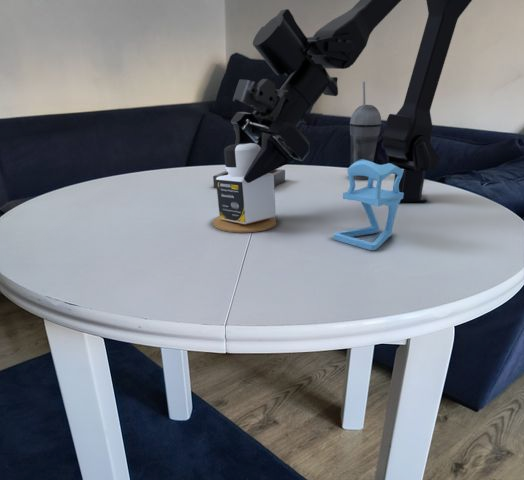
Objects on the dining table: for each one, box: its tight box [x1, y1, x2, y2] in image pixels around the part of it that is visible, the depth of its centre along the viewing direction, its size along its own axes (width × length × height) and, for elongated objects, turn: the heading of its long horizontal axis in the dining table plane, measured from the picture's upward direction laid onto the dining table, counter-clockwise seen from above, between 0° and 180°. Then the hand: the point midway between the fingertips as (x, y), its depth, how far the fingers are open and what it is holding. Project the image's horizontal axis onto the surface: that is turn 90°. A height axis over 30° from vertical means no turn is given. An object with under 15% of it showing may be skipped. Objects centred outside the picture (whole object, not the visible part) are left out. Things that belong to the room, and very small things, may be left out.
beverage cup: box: [348, 81, 383, 181], centre depth 110 cm, size 7×7×20 cm
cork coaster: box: [212, 215, 277, 234], centre depth 84 cm, size 11×11×1 cm
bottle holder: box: [212, 168, 286, 189], centre depth 109 cm, size 12×12×2 cm
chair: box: [333, 159, 404, 252], centre depth 73 cm, size 8×8×12 cm
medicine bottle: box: [216, 143, 277, 224], centre depth 81 cm, size 7×7×12 cm
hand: (236, 176), depth 80 cm, fingers closed on medicine bottle, 7 cm apart
